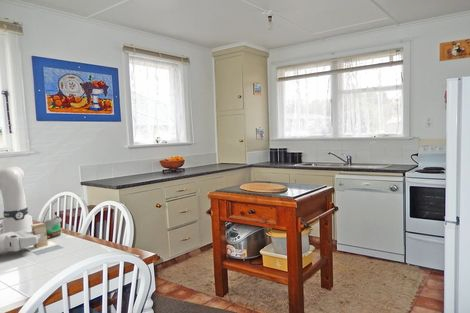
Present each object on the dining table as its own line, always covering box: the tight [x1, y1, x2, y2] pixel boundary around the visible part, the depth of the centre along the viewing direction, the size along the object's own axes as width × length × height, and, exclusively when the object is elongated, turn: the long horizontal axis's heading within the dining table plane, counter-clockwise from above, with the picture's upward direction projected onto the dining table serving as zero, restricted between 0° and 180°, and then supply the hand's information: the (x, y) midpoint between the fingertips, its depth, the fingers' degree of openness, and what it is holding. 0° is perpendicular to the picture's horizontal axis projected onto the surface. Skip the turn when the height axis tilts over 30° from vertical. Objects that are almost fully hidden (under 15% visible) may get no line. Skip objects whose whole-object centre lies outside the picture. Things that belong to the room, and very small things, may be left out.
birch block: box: [31, 222, 48, 248], centre depth 171 cm, size 5×5×11 cm
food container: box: [40, 215, 63, 240], centre depth 187 cm, size 12×6×10 cm, turn 168°
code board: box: [25, 240, 65, 256], centre depth 169 cm, size 19×12×1 cm, turn 48°
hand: (41, 233), depth 172 cm, fingers closed on birch block, 5 cm apart
